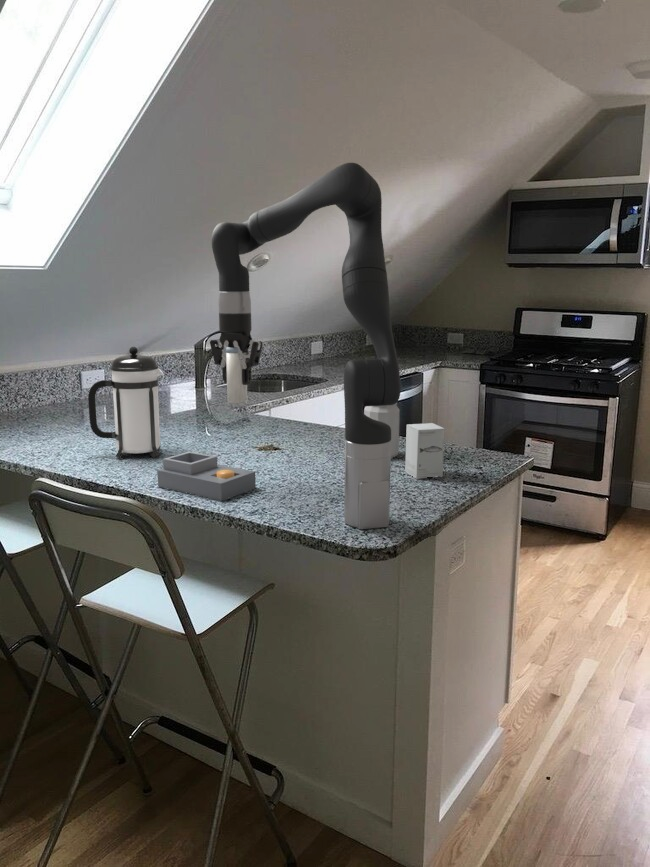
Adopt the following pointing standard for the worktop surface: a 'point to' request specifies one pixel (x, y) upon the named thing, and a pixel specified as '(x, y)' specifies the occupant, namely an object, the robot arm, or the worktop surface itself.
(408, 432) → the supplement box
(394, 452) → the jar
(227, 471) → the button
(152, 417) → the coffee press
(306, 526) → the worktop surface
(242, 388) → the cartridge
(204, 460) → the housing
